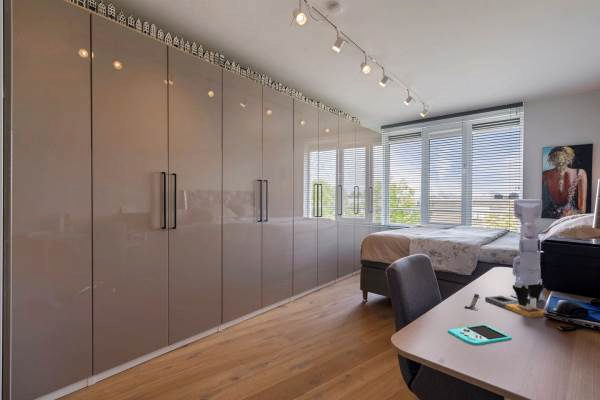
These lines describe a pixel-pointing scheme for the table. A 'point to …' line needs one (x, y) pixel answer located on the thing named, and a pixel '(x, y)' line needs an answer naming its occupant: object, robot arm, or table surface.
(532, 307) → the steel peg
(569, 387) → the table surface
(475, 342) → the handheld game console
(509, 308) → the rail plate
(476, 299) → the tactical tomahawk
